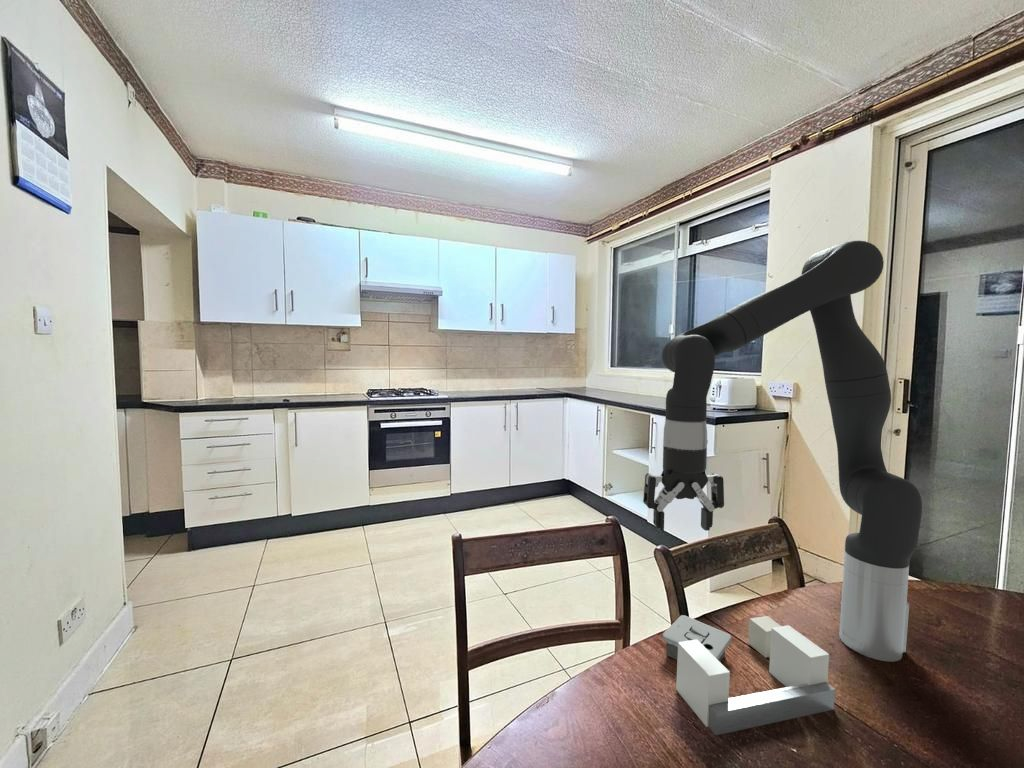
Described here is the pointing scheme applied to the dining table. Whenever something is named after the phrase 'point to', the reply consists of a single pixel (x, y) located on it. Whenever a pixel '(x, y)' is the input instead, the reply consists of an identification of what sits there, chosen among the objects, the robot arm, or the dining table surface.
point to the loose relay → (761, 634)
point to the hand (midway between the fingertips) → (682, 529)
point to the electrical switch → (695, 637)
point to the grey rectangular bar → (770, 707)
